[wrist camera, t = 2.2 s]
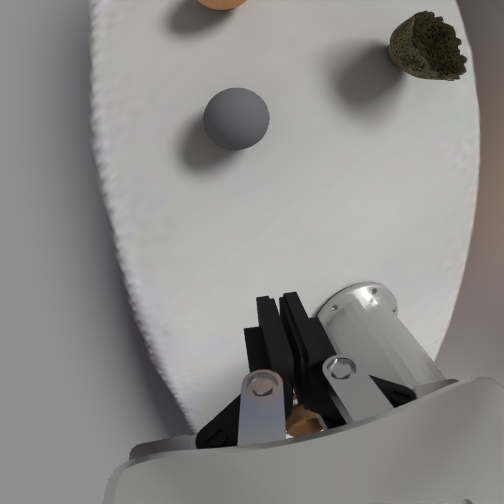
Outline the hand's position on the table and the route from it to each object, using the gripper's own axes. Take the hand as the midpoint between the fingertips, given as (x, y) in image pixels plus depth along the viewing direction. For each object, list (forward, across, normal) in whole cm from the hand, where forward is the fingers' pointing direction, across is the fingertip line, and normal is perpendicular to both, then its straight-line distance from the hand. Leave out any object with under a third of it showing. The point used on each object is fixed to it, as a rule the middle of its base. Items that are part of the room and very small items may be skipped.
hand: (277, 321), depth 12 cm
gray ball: (+14, 0, -9) cm, 17 cm away
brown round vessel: (+17, -19, -18) cm, 31 cm away
